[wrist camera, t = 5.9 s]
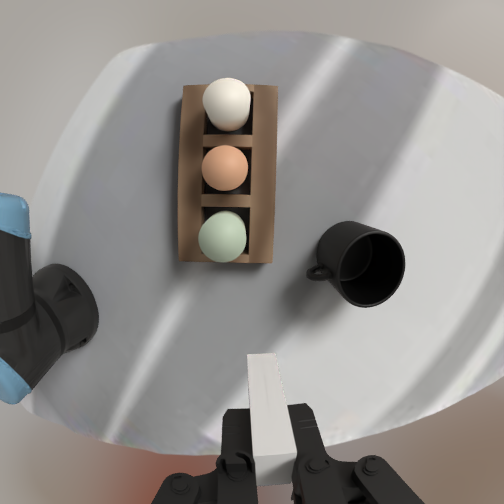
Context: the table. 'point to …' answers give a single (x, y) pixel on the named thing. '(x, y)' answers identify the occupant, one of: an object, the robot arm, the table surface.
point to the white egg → (227, 104)
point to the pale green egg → (223, 236)
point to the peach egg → (224, 168)
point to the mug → (360, 263)
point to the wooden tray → (259, 199)
